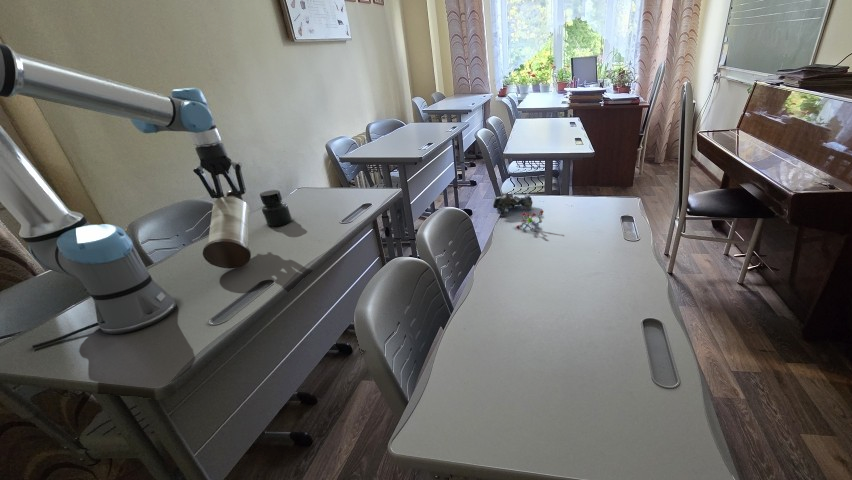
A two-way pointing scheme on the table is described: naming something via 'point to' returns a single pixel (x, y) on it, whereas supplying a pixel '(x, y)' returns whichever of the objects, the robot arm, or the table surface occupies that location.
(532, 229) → the molecular model
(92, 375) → the table surface
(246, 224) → the towel holder
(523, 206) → the dark grey lumpy piece
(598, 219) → the table surface
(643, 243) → the table surface
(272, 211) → the ink bottle
